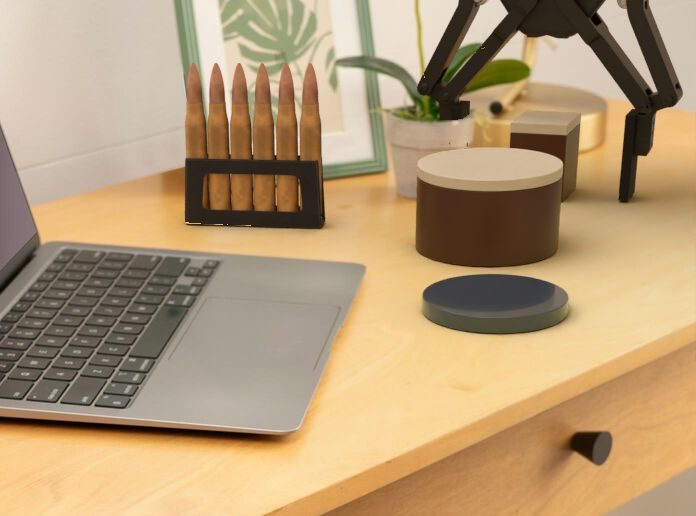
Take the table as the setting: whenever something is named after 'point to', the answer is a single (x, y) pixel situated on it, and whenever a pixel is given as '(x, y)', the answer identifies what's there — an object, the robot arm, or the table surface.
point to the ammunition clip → (241, 165)
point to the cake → (488, 206)
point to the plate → (495, 303)
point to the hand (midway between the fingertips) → (540, 190)
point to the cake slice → (550, 139)
